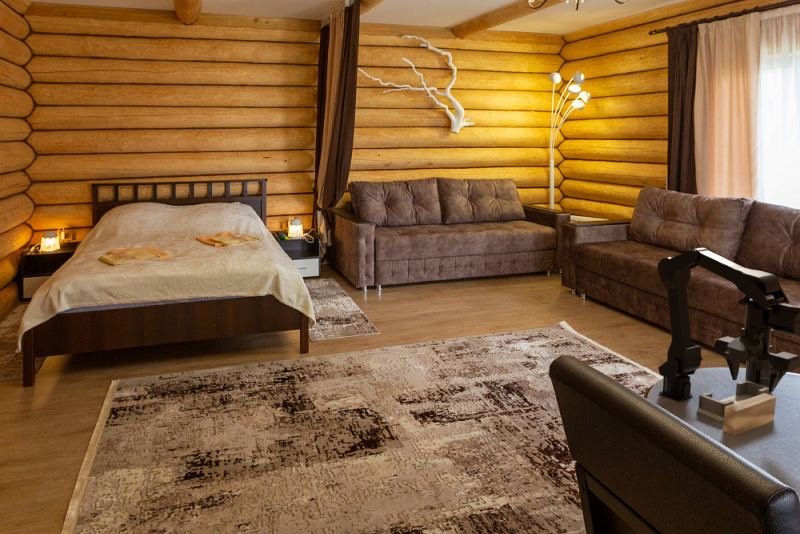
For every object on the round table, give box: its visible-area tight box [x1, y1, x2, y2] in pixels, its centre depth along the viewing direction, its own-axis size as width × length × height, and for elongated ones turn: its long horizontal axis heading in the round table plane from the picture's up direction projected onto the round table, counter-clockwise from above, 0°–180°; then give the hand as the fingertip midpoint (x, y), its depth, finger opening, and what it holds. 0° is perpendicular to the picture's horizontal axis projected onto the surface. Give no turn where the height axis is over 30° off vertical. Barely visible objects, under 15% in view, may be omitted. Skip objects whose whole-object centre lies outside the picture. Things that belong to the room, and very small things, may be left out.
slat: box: [722, 393, 777, 436], centre depth 156 cm, size 3×16×6 cm, turn 119°
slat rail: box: [696, 379, 771, 422], centre depth 166 cm, size 7×21×4 cm, turn 119°
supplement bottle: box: [744, 350, 772, 387], centre depth 178 cm, size 7×7×12 cm
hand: (752, 385), depth 154 cm, fingers open, 9 cm apart
